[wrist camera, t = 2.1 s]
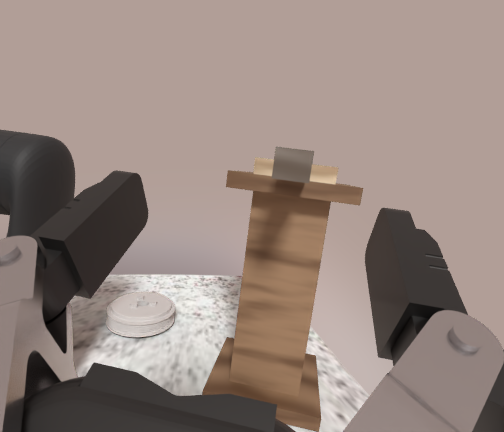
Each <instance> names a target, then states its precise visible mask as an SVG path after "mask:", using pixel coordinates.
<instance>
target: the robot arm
mask: <svg viewBox="0 0 504 432" xmlns="http://www.w3.org/2000/svg"><path fill="white" fill-rule="evenodd" d="M74 189H75V168H74V162H73V159H72V156H71V153H70V152H69V150H68V148H67V147H66V146H65V145H64V144H63V143H62V142H61V141H59V140H57V139H55V138H52V137H48V136H42V135H36V134H28V133H21V132H13V131H6V130H0V214H4V215H10V221H9V228H8V233H7V237H6V238H4V239H1V240H0V432H295V431H294V430H293V429H291V428H290V427H289V426H287V425H286V424H285V423H283V422H281V421H279V420H278V419H276V410H277V404H272V403H268V402H264V401H259V400H255V399H251V398H246V397H242V396H238V395H233V394H213V395H196V396H176V395H173V394H171V393H170V392H168V391H167V390H165V389H163V388H162V387H160V386H158V385H157V384H155V383H153V382H152V381H150V380H148V379H147V378H145V377H143V376H142V375H140V374H138V373H137V372H133V371H129V370H124V369H120V368H115V367H111V366H107V365H102V364H98V363H93V365H92V366H91V368H90V370H89V371H88V373H87V375H86V376H84V377H78V375H77V372H76V370H75V366H74V360H73V331H72V307H71V305H70V303H69V302H70V300H71V299H72V298H73V297H74V295H76V296H81V297H86V298H91V297H92V296H93V295H94V293H95V292H96V291H97V289H98V288H99V287H100V285H101V284H102V283H103V281H104V280H105V279H106V277H107V276H108V275H109V273H110V272H111V271H112V269H113V268H114V267H115V265H116V264H117V263H118V261H119V260H120V259H121V257H122V256H123V255H124V253H125V252H126V251H127V249H128V248H129V247H130V245H131V244H132V243H133V241H134V240H135V239H136V237H137V236H138V235H139V233H140V232H141V231H142V230H143V228H144V227H145V225H146V222H147V219H148V208H147V203H146V198H145V194H144V189H143V184H142V181H141V177H140V175H139V174H137V173H131V172H123V171H113V172H112V173H111V174H109V175H108V176H107V177H106V178H105V179H104V180H103V181H101V182H100V183H97V184H95V185H93V186H91V187H89V188H87V189H85V190H83V191H82V192H81V193H80V194H79V195H77V196H76V197H75V198H74ZM365 264H366V272H367V280H368V287H369V294H370V301H371V308H372V316H373V323H374V330H375V338H376V345H377V352H378V357H380V358H385V359H390V360H393V366H394V367H393V368H392V370H391V371H390V372H389V373H387V375H386V376H385V377H384V378H383V380H382V381H381V382H380V383H379V385H378V386H377V387H376V389H375V390H374V392H373V393H372V394H371V395H370V397H369V398H368V399H367V401H366V402H365V403H364V404H363V406H362V407H361V408H360V410H359V411H358V412H357V414H356V415H355V416H354V418H353V419H352V420H351V422H350V423H349V424H348V426H347V427H346V428H345V430H344V431H343V432H504V350H503V348H502V346H501V344H500V342H499V340H498V339H497V338H496V336H495V335H494V334H493V333H492V332H491V331H490V330H489V329H488V328H487V327H486V326H485V325H484V324H482V323H481V322H479V321H478V320H476V319H475V318H472V317H471V316H469V315H468V314H467V311H466V309H465V307H464V304H463V302H462V300H461V297H460V295H459V293H458V290H457V288H456V286H455V283H454V281H453V279H452V276H451V274H450V272H449V271H448V270H447V269H448V267H447V265H446V262H445V260H444V259H443V255H442V253H441V251H440V248H439V246H438V243H437V242H436V241H435V240H434V239H433V238H432V237H431V236H430V235H429V234H428V233H427V232H426V231H425V230H421V229H416V227H415V225H414V222H413V220H412V217H411V214H410V212H409V211H404V210H396V209H388V208H382V209H381V210H380V212H379V214H378V217H377V220H376V222H375V225H374V228H373V231H372V233H371V236H370V239H369V241H368V244H367V248H366V254H365Z"/></svg>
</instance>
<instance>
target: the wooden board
mask: <svg viewBox="0 0 504 432" xmlns="http://www.w3.org/2000/svg"><path fill="white" fill-rule="evenodd" d="M313 155H314V151H307V150H298V149H290V148H282V147H276V149H275V157H274V160H272V159H264V158H255V164H254V172H253V174H259V175H267V176H272V179H280V180H287V181H295V182H303V183H309V181H313V182H320V183H328V184H336V179H337V172H338V168H337V167H329V166H321V165H313V164H312V161H313Z"/></svg>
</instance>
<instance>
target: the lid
mask: <svg viewBox="0 0 504 432" xmlns="http://www.w3.org/2000/svg"><path fill="white" fill-rule="evenodd" d="M106 312H107V315H108V317H107V319H106V326H107V328H108V329H109V330H110V331H112V332H113V333H115V334H118V335H121V336H127V337H146V336H152V335H156V334H159V333H161V332H163V331H165V330H167V329H168V328H170V327H171V326H172V324H173V322H174V315H173V313H174V312H175V304H174V303H173V302H172V301H171V300H170V299H169V298H167V297H166V296H164V295H161V294H158V293H153V292H135V293H129V294H125V295H123V296H120V297H118V298H117V299H115V300H114V301H112V302H111V303H110V304H109V305H108V307H107V311H106Z"/></svg>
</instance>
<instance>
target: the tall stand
mask: <svg viewBox="0 0 504 432" xmlns="http://www.w3.org/2000/svg"><path fill="white" fill-rule="evenodd" d="M226 187H231V188H238V189H245V190H253V198H252V206H251V214H250V222H249V230H248V237H247V246H246V253H245V261H244V269H243V277H242V284H241V292H240V300H239V308H238V316H237V323H236V331H235V339H233V338H229V337H227V338H226V341H225V343H224V345H223V347H222V349H221V352H220V354H219V356H218V358H217V360H216V363H215V365H214V367H213V369H212V372H211V374H210V376H209V378H208V380H207V383H206V385H205V387H204V389H203V394H202V395H213V394H233V395H238V396H242V397H246V398H251V399H255V400H259V401H264V402H268V403H272V404H277V410H276V419H278V420H279V421H281V422H283V423H285V424H288V425H292V426H296V427H300V428H305V429H309V430H313V431H317V432H319V427H320V422H321V411H320V399H319V388H318V376H317V365H316V356H315V355H310V354H305V353H306V347H307V341H308V335H309V329H310V323H311V317H312V310H313V304H314V299H315V292H316V287H317V280H318V275H319V269H320V263H321V257H322V251H323V245H324V239H325V233H326V226H327V221H328V215H329V209H330V203H331V201H332V202H339V203H347V204H354V205H360V203H361V197H362V192H363V188H360V187H355V186H350V185H344V184H328V183H320V182H313V181H309V183H303V182H295V181H287V180H280V179H272V176H267V175H259V174H253V173H252V172H241V171H228V174H227V184H226Z"/></svg>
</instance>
